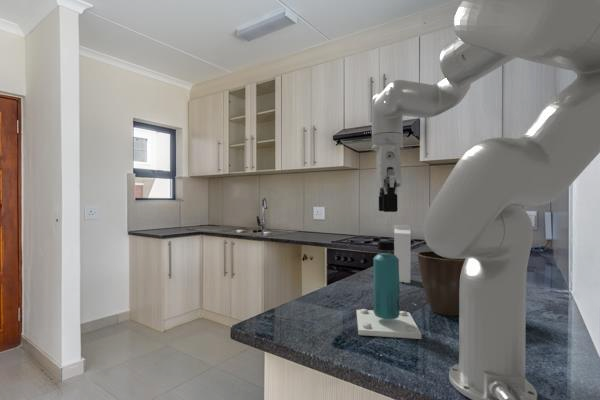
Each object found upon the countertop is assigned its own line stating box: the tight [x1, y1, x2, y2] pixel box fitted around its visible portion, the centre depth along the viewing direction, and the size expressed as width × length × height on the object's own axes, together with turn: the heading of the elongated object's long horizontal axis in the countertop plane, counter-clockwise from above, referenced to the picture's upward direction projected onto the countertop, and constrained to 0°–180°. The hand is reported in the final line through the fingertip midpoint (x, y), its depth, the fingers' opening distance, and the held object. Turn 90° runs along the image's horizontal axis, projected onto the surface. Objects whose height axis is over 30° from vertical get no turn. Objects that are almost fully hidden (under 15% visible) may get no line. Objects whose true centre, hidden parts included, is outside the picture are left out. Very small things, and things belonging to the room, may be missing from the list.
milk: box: [393, 223, 412, 284], centre depth 125 cm, size 6×6×22 cm
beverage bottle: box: [372, 240, 401, 319], centre depth 80 cm, size 6×7×20 cm
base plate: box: [356, 308, 422, 340], centre depth 80 cm, size 14×14×2 cm
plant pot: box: [417, 250, 466, 317], centre depth 91 cm, size 15×15×16 cm
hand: (387, 211), depth 80 cm, fingers open, 9 cm apart
